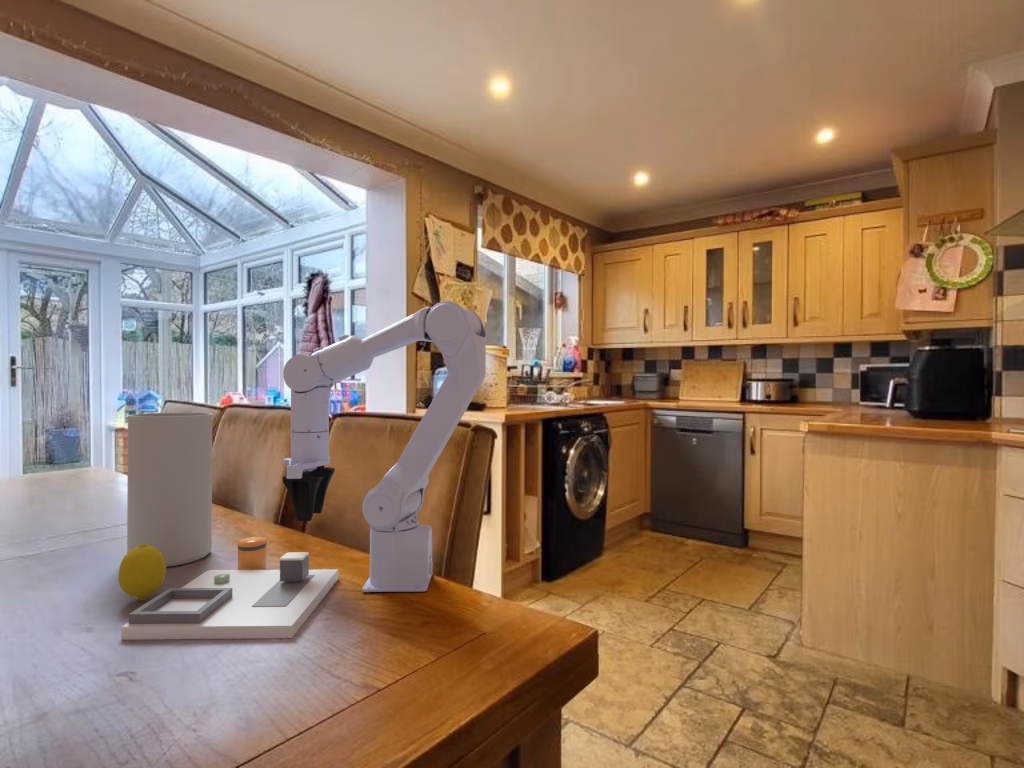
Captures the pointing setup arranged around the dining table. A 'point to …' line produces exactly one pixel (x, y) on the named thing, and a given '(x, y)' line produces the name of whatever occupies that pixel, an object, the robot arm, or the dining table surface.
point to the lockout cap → (252, 553)
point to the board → (231, 606)
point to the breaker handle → (294, 566)
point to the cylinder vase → (170, 484)
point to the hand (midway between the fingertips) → (309, 516)
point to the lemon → (142, 571)
